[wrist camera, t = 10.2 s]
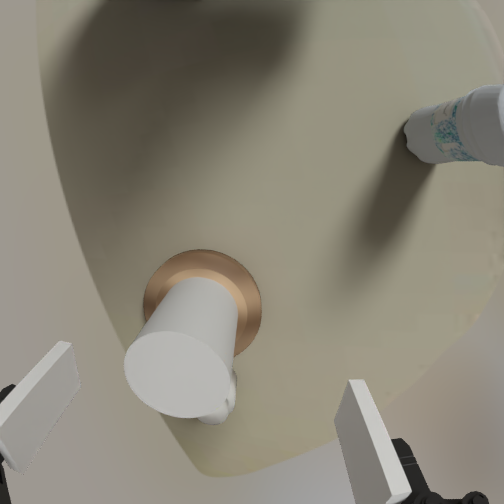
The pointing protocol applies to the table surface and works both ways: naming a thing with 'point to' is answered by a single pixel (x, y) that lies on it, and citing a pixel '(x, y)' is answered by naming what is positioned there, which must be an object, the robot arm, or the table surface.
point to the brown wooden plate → (216, 270)
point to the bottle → (460, 129)
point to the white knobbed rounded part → (222, 406)
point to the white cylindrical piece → (185, 350)
